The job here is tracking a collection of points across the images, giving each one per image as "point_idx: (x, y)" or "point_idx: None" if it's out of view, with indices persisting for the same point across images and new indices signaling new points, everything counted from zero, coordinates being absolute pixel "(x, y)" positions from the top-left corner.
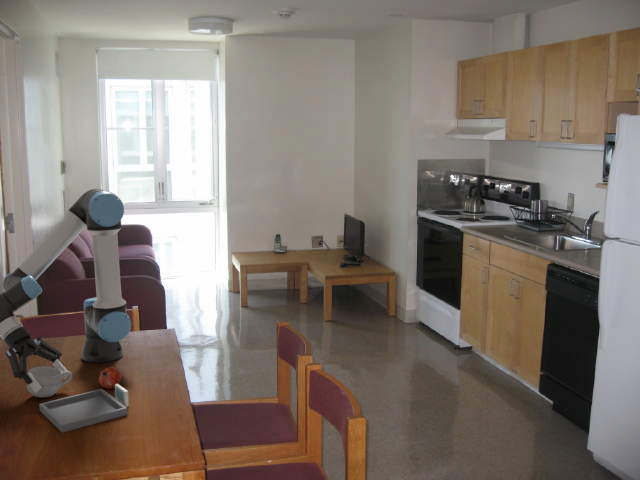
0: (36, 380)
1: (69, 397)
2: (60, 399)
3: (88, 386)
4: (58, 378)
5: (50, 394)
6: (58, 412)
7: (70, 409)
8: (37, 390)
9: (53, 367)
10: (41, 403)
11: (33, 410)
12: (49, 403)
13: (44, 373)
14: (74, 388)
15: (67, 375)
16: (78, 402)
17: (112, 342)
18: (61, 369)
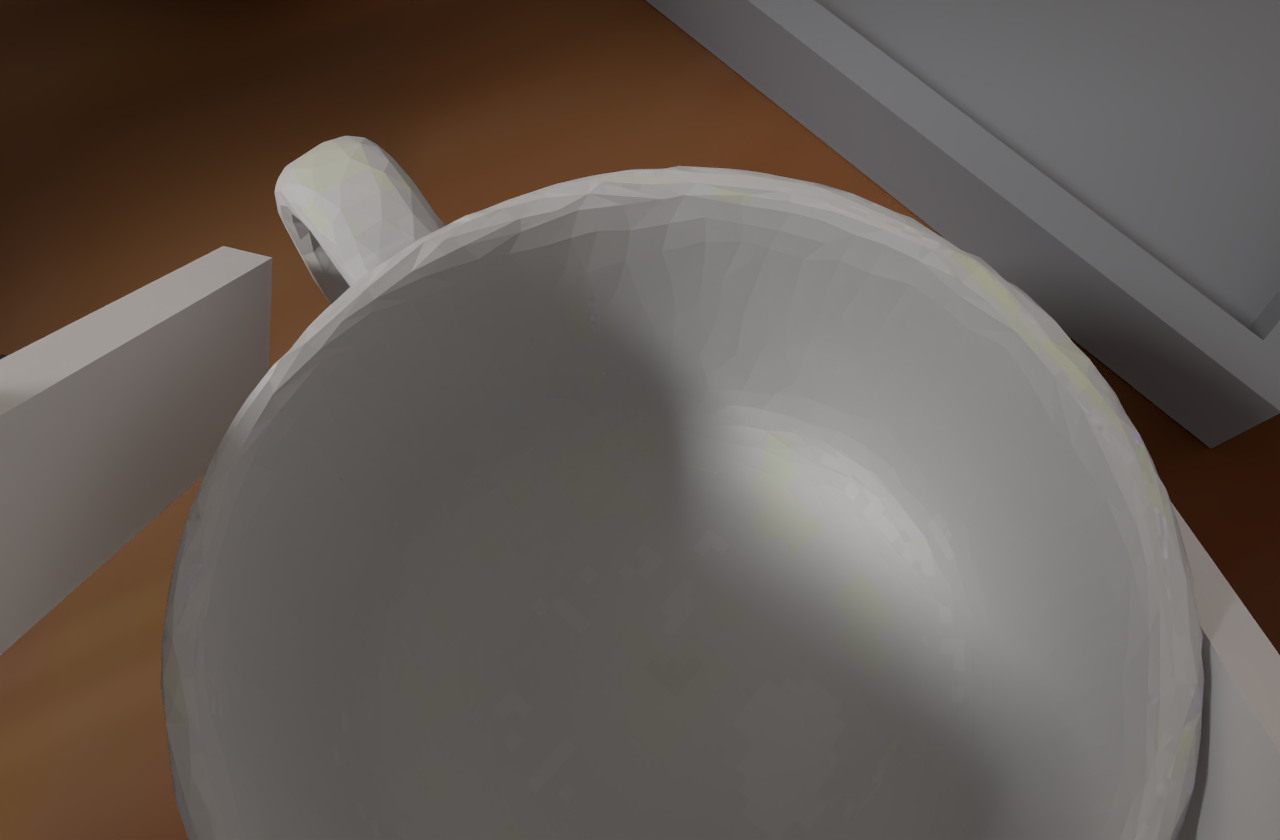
0: None
1: (917, 88)
2: (1023, 177)
3: (194, 175)
4: (724, 231)
5: (806, 467)
6: (1247, 130)
7: (1110, 34)
8: None
9: (204, 549)
10: (1253, 386)
11: (1233, 548)
12: (1174, 288)
13: (308, 821)
14: (284, 342)
15: (264, 300)
16: (876, 28)
17: None
18: (160, 397)
